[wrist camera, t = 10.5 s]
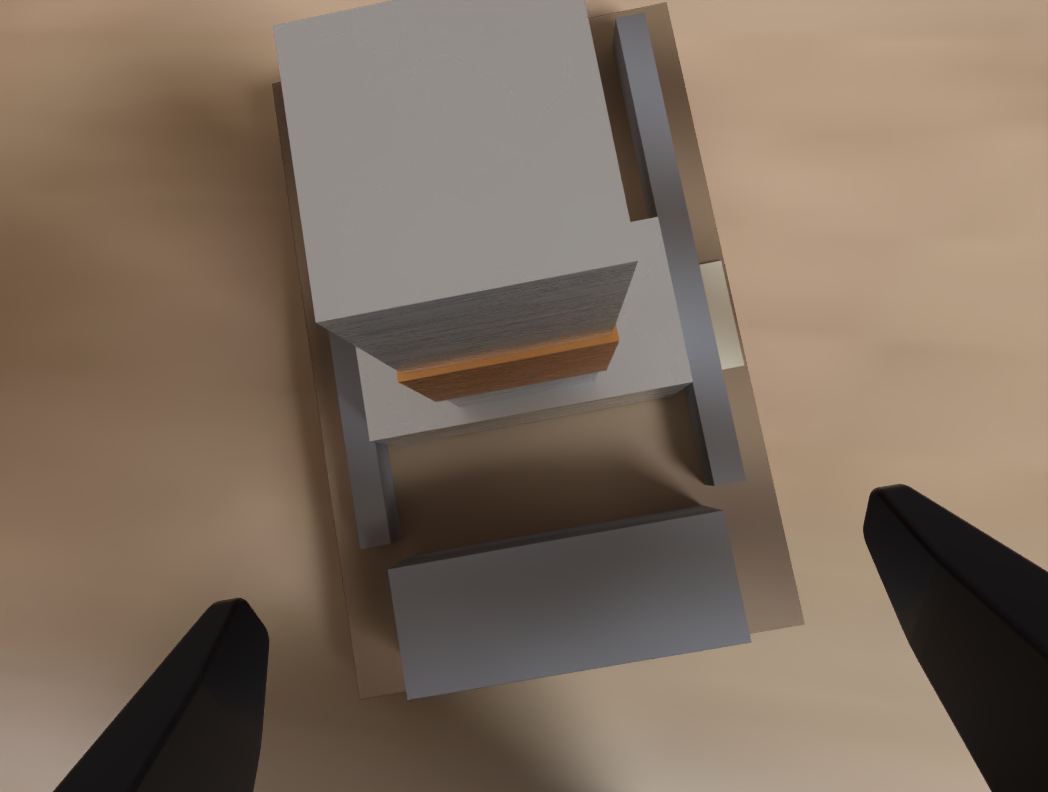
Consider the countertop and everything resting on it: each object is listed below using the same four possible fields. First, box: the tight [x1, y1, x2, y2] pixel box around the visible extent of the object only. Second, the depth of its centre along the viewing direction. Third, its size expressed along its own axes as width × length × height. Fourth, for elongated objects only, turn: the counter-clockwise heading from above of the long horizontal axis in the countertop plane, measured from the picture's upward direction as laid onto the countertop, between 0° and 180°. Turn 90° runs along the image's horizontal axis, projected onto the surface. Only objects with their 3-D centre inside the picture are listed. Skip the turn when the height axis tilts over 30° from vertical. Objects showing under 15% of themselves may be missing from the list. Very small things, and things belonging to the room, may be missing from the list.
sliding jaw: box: [273, 0, 693, 446], centre depth 13 cm, size 4×8×12 cm, turn 100°
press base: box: [272, 2, 804, 700], centre depth 18 cm, size 18×12×4 cm, turn 10°
